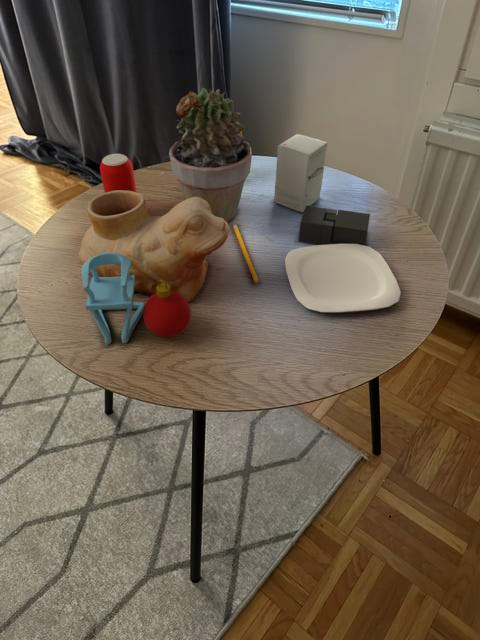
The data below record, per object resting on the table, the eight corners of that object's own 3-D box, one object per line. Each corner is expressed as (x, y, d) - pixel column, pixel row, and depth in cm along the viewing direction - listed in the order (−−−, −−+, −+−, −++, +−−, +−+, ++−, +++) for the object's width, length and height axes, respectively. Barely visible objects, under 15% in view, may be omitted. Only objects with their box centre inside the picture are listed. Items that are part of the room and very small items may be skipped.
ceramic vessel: (218, 313, 78) (215, 234, 67) (69, 288, 82) (45, 211, 72) (238, 262, 88) (238, 187, 77) (104, 243, 92) (87, 168, 81)
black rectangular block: (365, 234, 94) (370, 213, 91) (363, 251, 90) (367, 230, 87) (325, 227, 96) (328, 207, 93) (320, 244, 92) (323, 224, 89)
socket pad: (333, 229, 95) (337, 209, 92) (329, 246, 91) (333, 226, 88) (303, 225, 97) (306, 205, 94) (298, 241, 92) (300, 221, 89)
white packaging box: (302, 213, 100) (309, 154, 91) (273, 202, 103) (276, 144, 94) (320, 199, 104) (328, 141, 95) (291, 188, 107) (296, 132, 98)
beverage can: (104, 220, 97) (92, 164, 89) (116, 205, 102) (106, 150, 94) (133, 224, 96) (123, 167, 88) (144, 208, 101) (136, 153, 93)
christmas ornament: (136, 336, 74) (126, 285, 67) (164, 309, 78) (157, 259, 72) (174, 353, 72) (167, 303, 65) (201, 324, 76) (197, 274, 69)
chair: (90, 345, 73) (71, 284, 64) (97, 308, 79) (80, 247, 70) (142, 342, 73) (130, 280, 65) (145, 305, 79) (134, 245, 71)
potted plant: (261, 188, 107) (265, 66, 90) (253, 238, 93) (257, 104, 76) (180, 183, 109) (170, 62, 91) (161, 232, 95) (144, 100, 77)
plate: (373, 248, 91) (375, 240, 90) (408, 313, 78) (411, 305, 77) (278, 254, 89) (279, 246, 88) (298, 322, 76) (299, 314, 75)
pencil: (236, 225, 96) (236, 222, 96) (258, 282, 84) (258, 279, 83) (232, 226, 96) (232, 223, 96) (254, 283, 83) (254, 280, 83)
